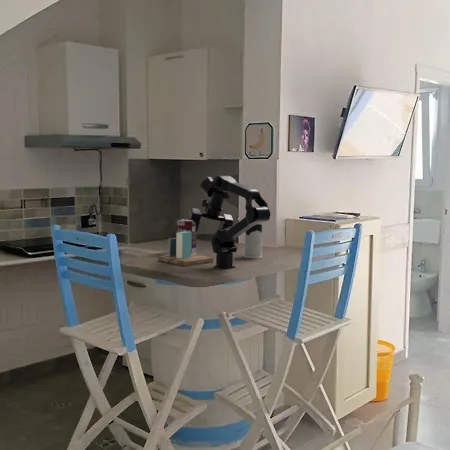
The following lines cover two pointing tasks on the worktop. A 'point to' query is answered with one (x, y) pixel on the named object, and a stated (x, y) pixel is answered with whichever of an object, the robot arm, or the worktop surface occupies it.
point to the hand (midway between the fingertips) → (205, 234)
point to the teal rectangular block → (183, 244)
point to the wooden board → (187, 260)
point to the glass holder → (253, 242)
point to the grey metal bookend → (171, 247)
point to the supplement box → (189, 227)
